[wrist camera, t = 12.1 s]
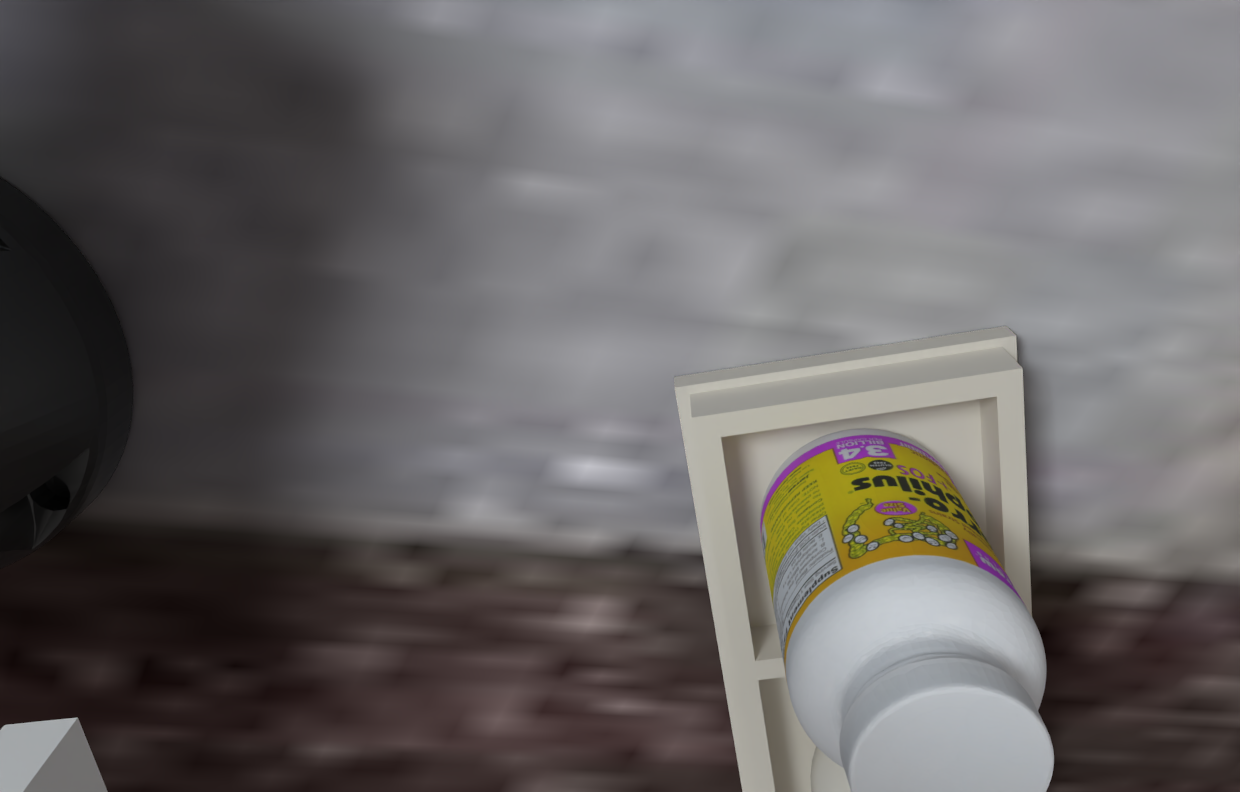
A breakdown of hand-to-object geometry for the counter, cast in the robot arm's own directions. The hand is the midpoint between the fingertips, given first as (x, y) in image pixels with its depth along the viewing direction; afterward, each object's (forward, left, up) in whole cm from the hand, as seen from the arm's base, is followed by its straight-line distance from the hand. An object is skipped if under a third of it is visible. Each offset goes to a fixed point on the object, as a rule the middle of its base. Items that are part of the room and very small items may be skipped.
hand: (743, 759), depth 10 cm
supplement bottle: (+4, -11, -24) cm, 26 cm away
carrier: (+4, -15, -25) cm, 29 cm away
